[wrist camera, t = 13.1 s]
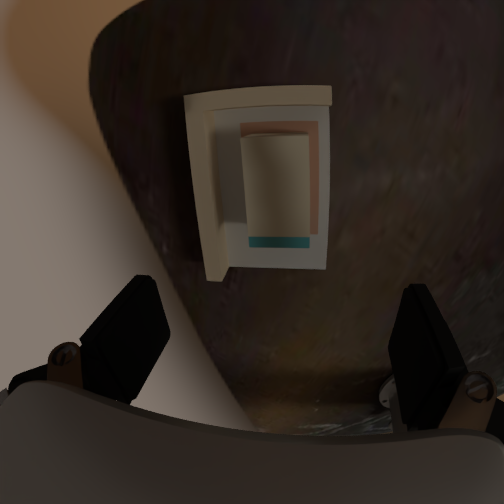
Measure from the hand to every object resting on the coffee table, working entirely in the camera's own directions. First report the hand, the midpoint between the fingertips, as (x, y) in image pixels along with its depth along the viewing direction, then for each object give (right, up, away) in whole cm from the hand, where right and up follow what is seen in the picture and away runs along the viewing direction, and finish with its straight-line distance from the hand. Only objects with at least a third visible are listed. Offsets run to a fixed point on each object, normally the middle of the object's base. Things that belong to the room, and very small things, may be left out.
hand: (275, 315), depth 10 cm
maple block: (+2, +9, +16) cm, 18 cm away
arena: (0, +9, +17) cm, 19 cm away
